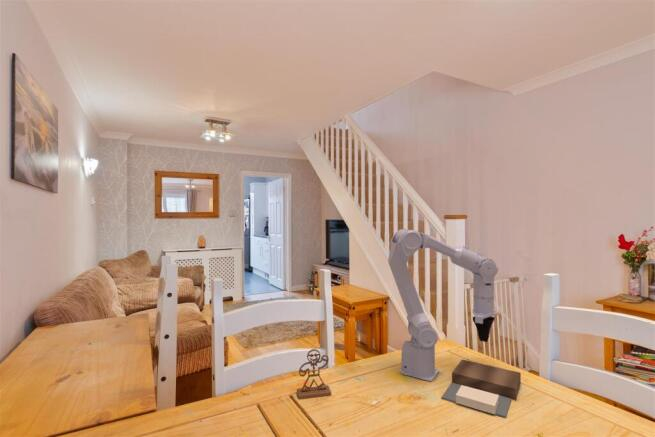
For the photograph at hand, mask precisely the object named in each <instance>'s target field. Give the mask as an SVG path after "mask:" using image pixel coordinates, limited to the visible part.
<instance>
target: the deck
mask: <svg viewBox="0 0 655 437" xmlns="http://www.w3.org/2000/svg"><path fill="white" fill-rule="evenodd" d="M521 375H522V374H521V372H520V371H514V370H510V369H506V368H502V367H497V366H492V365H488V364H485V363H479V362H476V361H471V360H468V359H467V360H466V359H461V360H460V361H459V362H458V364H457V365H456V367H455V368H454V369H453V371H452V373H451V383H455V384H459V385H463V386H467V387H471V388H474V389H478V390H482V391H485V392H489V393H493V394H497V395H500V396H504V397H507V398H511V401H517V398H518V394H519V390H520V387H521V380H522V379H521V378H522V377H521Z"/></svg>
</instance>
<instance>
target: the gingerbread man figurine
mask: <svg viewBox="0 0 655 437" xmlns="http://www.w3.org/2000/svg"><path fill="white" fill-rule="evenodd" d="M312 352H317V353H314V354H313V353H312ZM306 357H307V358H306V359H307V360H308V362H304V363H303V364H302V365H301V366H300V368H299V369H298V373H299V376H300V377H305V376H306V375H307V374H308V375H307V378H306V380H305V382H304V383H303V386H302V387H301V388H297V389H296V396H297V398H298V400H307V399H316V398H323V397H330V396H331V397H332V390H331V388H330V387H329V386H330V385H326V383H325V382H324V381H323V379H322V378H321V375H320V370H321V369H323V368H325V367H327V365H328V363H329V356H328V355H327V354H323V355H322V356H321V352H320V351H319V350H318V349H316V348H313V349H311V350H309V351H308V352H307V354H306ZM313 357H315V358H313ZM325 357H326V358H325ZM322 362H325V363H324V364H323V365H322V366H319V367H318V364H320V363H322ZM306 365H310V367H311V368H312V374H310V368H308V367H307V368H306V369H304V370H303V369H302V368H304V367H305V366H306ZM316 367H317V368H318V369H317V370H318V371H317V373H316V371H315V369H316ZM307 371H308V372H307ZM301 373H303V374H301ZM313 377H314V378H315V377H318V378H319V380H320V381H321V383H320V384H318V383H317V381H316V380H315V379H314V378H313ZM310 378H313V379H312V381H311V383H310V385H309V386H308V385H306V384H307V383H308V381H309V379H310ZM314 384H315V385H316V386H313V385H314Z"/></svg>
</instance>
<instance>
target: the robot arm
mask: <svg viewBox="0 0 655 437" xmlns="http://www.w3.org/2000/svg"><path fill="white" fill-rule="evenodd" d="M419 249H423V250H424V249H430V250H433V251H435V252H438V253H440V254H441V255H444V256H446V257H449V259H450V261H451V263H452V264H454V265H455V266H457V267H460V268H463V269H465V270H467V271H469V272H471V273H472V275H473V276H472V278H473V279H472V280H473V284H472V285H473V299H472V300H473V301H472V302H473V303H472V304H473V309H472V313H473V315H474V316H473V317H472V322H473V323H474V325H475V328H476V332H477V335H478V339H479V341H480V342H484V343H487V342H488V341H489V337H490V335H491V334H490V333H491V328H492V326H493V324H494V321H495V319H496V318H495V317H494V316H496V317H497V316H499V311H498V312H497V311H495V276H496V275H497V273H498V272H499V267H497V264H496V262H495V261H494V260H493V259H491V258H487V257H484V256H483V254H482V253H480V252H475V251H472V250H470V249H469V247H468V246H466V245H461V246H460V245H458V246H455V247H453V246H452V245H450V244H447V243H446V242H443V241H442V240H439V239H438V238H436V237H433V236H432V235H429V234H426V233H425V232H424V233H423V232H418V231H417V230H415V229H407V228H402V229H401V228H400V229H398V230H397V231H396V232H395V233H394V235H393V236H392V237H391V240H390V249H389V253H388V260H387V261H388V266H389V267H390V270H391V274H392V277H393V280H394V282H395V284H396V287H397V290H398V293H399V295H400V298H401V302H402V304H403V306H404V309H405V311H406V314H407V316H406V320H407V322H408V323H407V331H408V334H409V335H410V336H411V337H410V340H405V341H404V342H403V344H402V346H401V347H402V348H401V370H400V374H403V375H404V376H405V375H406V376H409V377H413V378H417V379H419V380H424V381H426V382H433V380H434V379H435V378H436V376H438V374H439V373H440V369H438V368H437V369H436V364H435V362H436V360H435V359H436V356H435V355H436V344H437V342H438V339H439V334H438V332H437V331H436V330H435V328H433V326H432V324H431V322H430V320H429V319H428V317H427V315H426V313H425V311H424V309H423V306H422V303H421V300H420V297H419V294H418V291H417V289H416V287H415V284H414V281H413V278H412V275H411V272H410V270H409V267H408V265H407V264H408V262H409V260H410V259H411V257H412V255H414V254H416V252H417V251H418V250H419Z"/></svg>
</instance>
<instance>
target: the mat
mask: <svg viewBox="0 0 655 437" xmlns="http://www.w3.org/2000/svg"><path fill="white" fill-rule="evenodd" d="M460 387H461V385H459V384H455V383H452V382H451V383H450V384H449V386H448V387H447V388H446V390H445V392H444V393H443V395H442V396H441V400H445V401H448V402H452V403H454V404H457V403H456V394H457V392H458V390H459V389H460ZM511 402H512V399H511V398H507V397H504V396H500V395H499V404H498V407H497V410H496V413H495V414H492V413H490V414H491V415H494V416H498V417H501V418H504V419H506V418H507V416H508V412H509V410H510V406H511ZM460 406H465V405H462V404H460ZM465 407H468V406H465ZM470 408H471V409H475V408H472V407H470ZM475 410H478V409H475ZM478 411H479V410H478ZM480 411H481V412H484V413H487V414H489V413H488V412H485V411H482V410H480Z"/></svg>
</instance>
